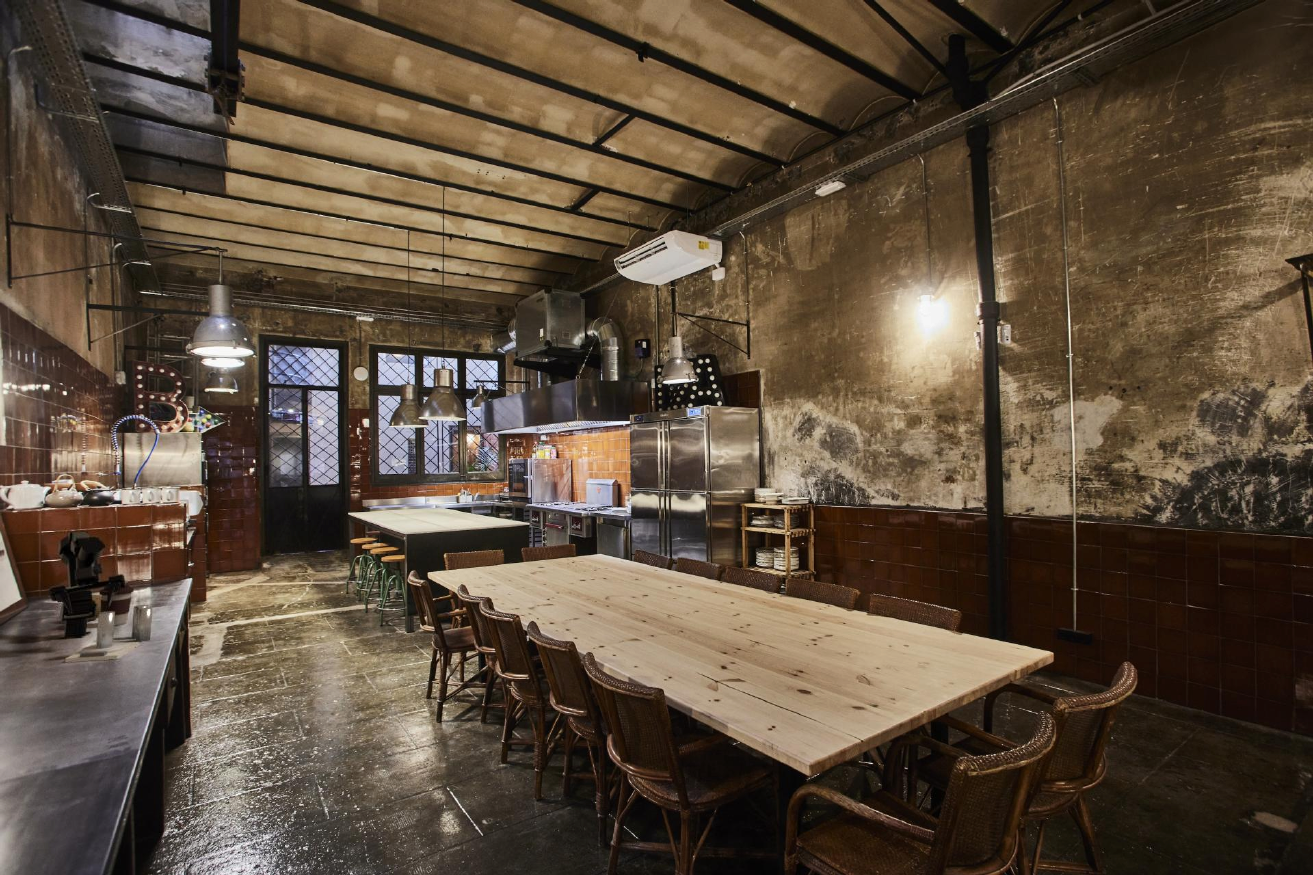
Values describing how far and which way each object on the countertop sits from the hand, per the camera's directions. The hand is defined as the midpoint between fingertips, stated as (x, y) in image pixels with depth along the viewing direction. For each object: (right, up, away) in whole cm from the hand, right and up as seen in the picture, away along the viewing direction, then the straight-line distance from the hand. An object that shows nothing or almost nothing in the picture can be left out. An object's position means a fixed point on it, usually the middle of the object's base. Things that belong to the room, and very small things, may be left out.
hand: (89, 609), depth 205 cm
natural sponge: (-33, -14, +36) cm, 51 cm away
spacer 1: (+9, -11, -4) cm, 14 cm away
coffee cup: (-19, -15, +31) cm, 39 cm away
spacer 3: (+8, -14, +11) cm, 20 cm away
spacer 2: (+4, -14, +15) cm, 21 cm away
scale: (+9, -13, -4) cm, 16 cm away
